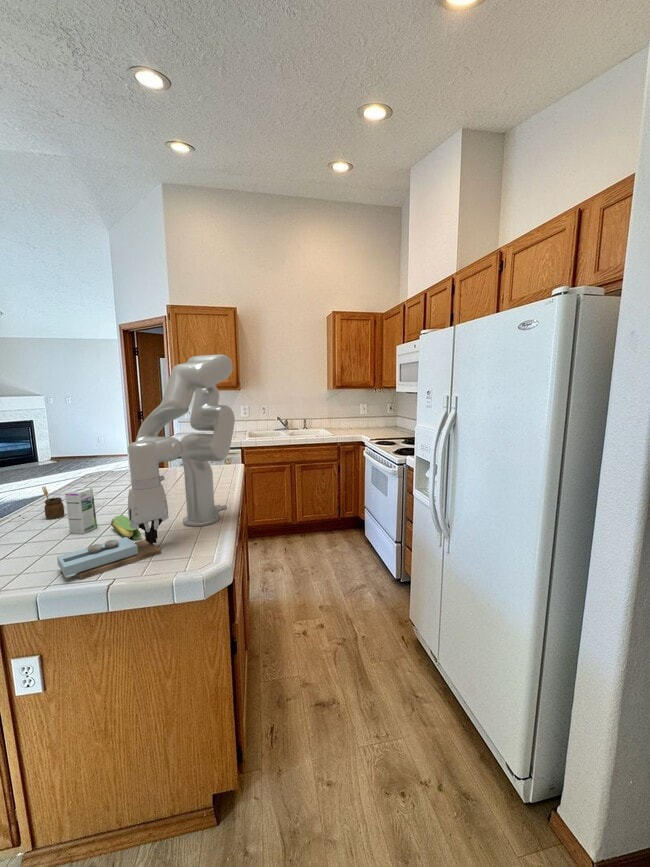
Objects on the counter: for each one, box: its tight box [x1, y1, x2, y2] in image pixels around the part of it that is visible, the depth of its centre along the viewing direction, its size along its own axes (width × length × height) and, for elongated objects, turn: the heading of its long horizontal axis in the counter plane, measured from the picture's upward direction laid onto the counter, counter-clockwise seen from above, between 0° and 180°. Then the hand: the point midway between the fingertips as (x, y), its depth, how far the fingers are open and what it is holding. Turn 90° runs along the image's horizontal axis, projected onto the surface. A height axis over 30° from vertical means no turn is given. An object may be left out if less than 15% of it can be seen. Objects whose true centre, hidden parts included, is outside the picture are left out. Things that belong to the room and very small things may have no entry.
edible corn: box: [110, 514, 143, 541], centre depth 122 cm, size 5×20×5 cm
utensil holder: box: [41, 485, 65, 520], centre depth 140 cm, size 6×6×12 cm
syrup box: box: [64, 487, 98, 535], centre depth 125 cm, size 6×6×14 cm
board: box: [75, 539, 162, 580], centre depth 103 cm, size 20×11×5 cm, turn 135°
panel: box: [56, 537, 138, 577], centre depth 100 cm, size 17×9×2 cm, turn 135°
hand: (152, 542), depth 110 cm, fingers closed
